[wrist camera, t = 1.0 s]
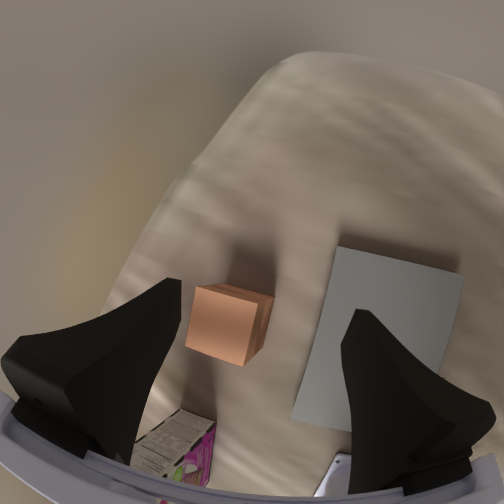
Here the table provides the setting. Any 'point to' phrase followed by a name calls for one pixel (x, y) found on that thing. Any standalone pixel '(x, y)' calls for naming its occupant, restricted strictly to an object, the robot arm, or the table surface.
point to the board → (387, 311)
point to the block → (228, 322)
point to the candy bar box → (177, 449)
